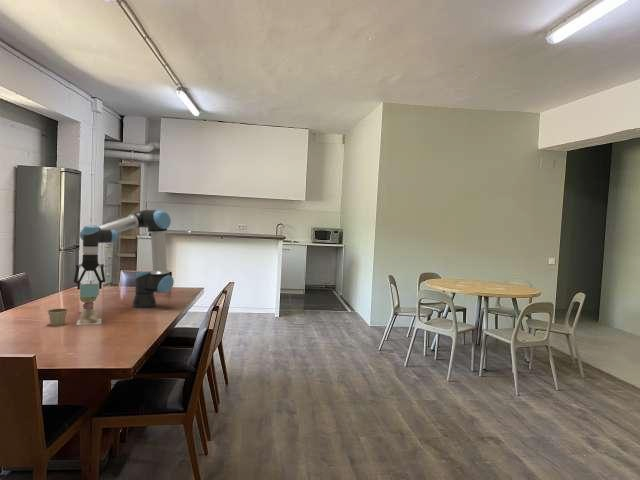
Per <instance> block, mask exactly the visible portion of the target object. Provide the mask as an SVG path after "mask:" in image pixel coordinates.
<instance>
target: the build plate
mask: <svg viewBox="0 0 640 480" xmlns="http://www.w3.org/2000/svg"><path fill="white" fill-rule="evenodd" d="M98 324H99V325H100V324H102V318H98V320H97V323H87V324H81V319H77V322H76V326H82V325H98Z"/></svg>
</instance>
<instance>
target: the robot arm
mask: <svg viewBox="0 0 640 480" xmlns="http://www.w3.org/2000/svg"><path fill="white" fill-rule="evenodd" d="M171 224H172V223H171V215H169V214H168V212H167V211H165V210H160V209H143V210H140V211H137V212H134V213H131V214H128V216H127V217H122V218H119V219H117V220H114V221H110V222H107V223H104V224H100V225H98V226H97V225H85V226H83V229H81V230H80V232H79V237H80V239H81V240H82V262H81V263H77V264H75V267H76V270H75V273H74V278H73V279H74V280H73V283H74V284H77V288H76V289H77V290H79V297H80V296H81V285H82V284H83V283H82V280H83V277H84V276H85V274H86V273H87V272H93V273H94V275H95V278H96V279H97V281H98V282H97V284H98V296H99V295H100V290H101V289H102V288H103V287H102V285H103V283H105V282H106V277H105V271H104V267H105V266H104V263H103V264H101V263H99V254H98V253H99V244H100V243H101V244H106V243H107V244H112V243H115V242H117V241H118V237H119V236H118V233H122V232H124V231H127V230H130V229H138V228H139V229H141V228H146V229H147V232H149V234H150V243H151V245H150V246H151V261H152V262H151V263H152V270H150V271H140V272H136V274H135V278H134V279H135V285H134V286H135V291H134V292H135V295H134V297H133V300H132V302H131V303H132V304H131V306H132V307H133V308H139V309H143V308H144V309H145V308H146V309H147V308H153V307H156V306H157V300H156V297H155V296H156V295H155V293H161V294H162V293H163V294H166V293H168V292H170V291H171V290H172V288H173V287H174V283H175V281H174V278H173V276H172V275H170V271H169V270H168V268H167V250H166V248H167V246H166V232H168V228H170V225H171ZM98 267H99V269H100V273H101V277H100V275H99V272H98V270H97V268H98ZM81 268H83V271H82V273H81V275H80V277H79V279H78V276H79V272H80V269H81ZM101 278H102V279H101Z"/></svg>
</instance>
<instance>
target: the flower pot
mask: <svg viewBox="0 0 640 480" xmlns="http://www.w3.org/2000/svg"><path fill="white" fill-rule="evenodd" d="M68 310H69V309H67V308H52V309H48V310H47V313H48V316H49V317H48V318H49V324H50V326H53V327H57V326H59V327H60V326H64V325H66V324H65V323H66V316H67V312H68Z"/></svg>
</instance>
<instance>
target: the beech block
mask: <svg viewBox="0 0 640 480" xmlns="http://www.w3.org/2000/svg"><path fill="white" fill-rule="evenodd" d="M98 311H99V309H98V308H97V309H95V308H94V309H92V310H86V309H81V311H80V320H81V324H86V325H88V324H87V323H97V320H98V319H99V318H98V317H99V316H98V315H99V312H98Z"/></svg>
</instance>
